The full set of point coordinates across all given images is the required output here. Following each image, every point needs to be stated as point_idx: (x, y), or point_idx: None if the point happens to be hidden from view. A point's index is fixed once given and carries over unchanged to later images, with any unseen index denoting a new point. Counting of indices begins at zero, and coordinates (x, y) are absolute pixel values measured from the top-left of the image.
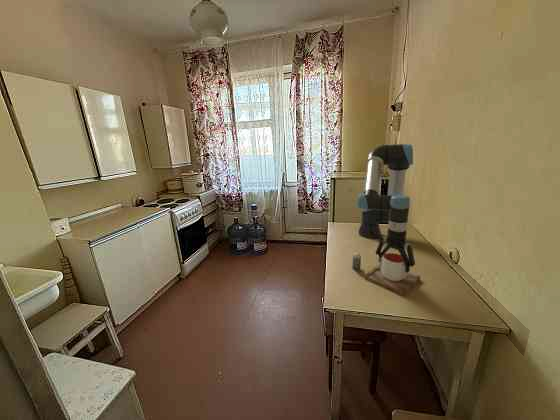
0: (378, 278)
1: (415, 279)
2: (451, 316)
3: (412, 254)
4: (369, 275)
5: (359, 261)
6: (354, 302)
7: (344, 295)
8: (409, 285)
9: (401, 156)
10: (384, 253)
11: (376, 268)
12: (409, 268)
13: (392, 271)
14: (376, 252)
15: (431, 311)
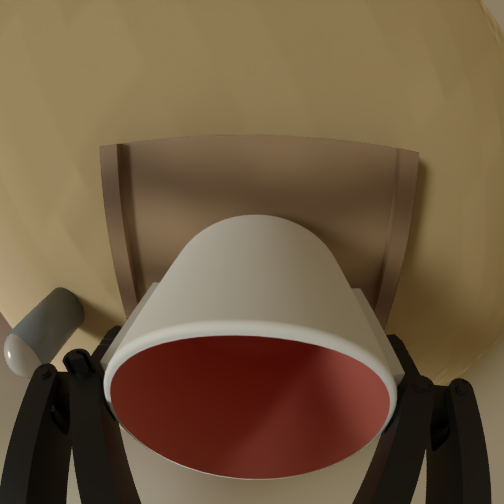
0: None
1: (404, 231)
2: (489, 337)
3: (476, 493)
4: None
5: (54, 350)
6: None
7: None
8: (383, 325)
9: None
10: (107, 416)
11: (127, 282)
12: (409, 362)
13: (285, 408)
14: (62, 413)
15: (447, 363)
